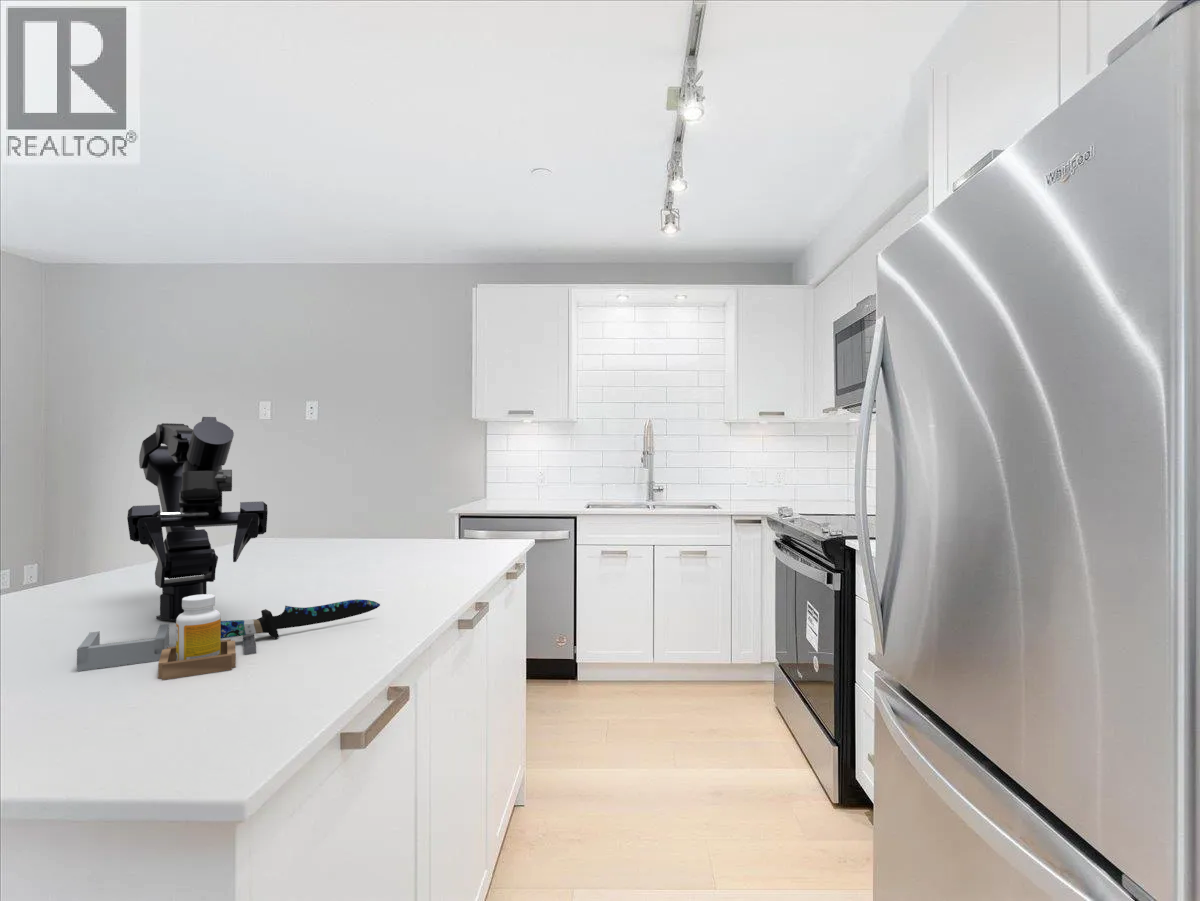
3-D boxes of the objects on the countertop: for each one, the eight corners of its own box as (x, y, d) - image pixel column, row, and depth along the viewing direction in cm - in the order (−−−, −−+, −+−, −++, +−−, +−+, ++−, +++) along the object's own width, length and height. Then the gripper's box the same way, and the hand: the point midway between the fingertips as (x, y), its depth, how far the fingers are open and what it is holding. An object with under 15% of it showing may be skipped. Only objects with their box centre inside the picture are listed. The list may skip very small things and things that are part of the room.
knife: (185, 653, 97) (186, 623, 97) (182, 648, 99) (183, 618, 99) (385, 622, 117) (386, 597, 117) (378, 619, 119) (379, 594, 119)
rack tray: (89, 652, 98) (89, 632, 98) (169, 642, 103) (169, 623, 103) (76, 671, 89) (76, 649, 89) (164, 659, 94) (164, 639, 94)
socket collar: (163, 661, 93) (163, 647, 93) (234, 652, 98) (234, 638, 98) (157, 680, 86) (157, 665, 86) (235, 669, 90) (235, 654, 90)
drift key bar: (242, 641, 104) (242, 635, 104) (253, 639, 104) (253, 633, 104) (243, 654, 97) (244, 647, 97) (256, 653, 98) (256, 646, 98)
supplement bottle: (229, 661, 94) (229, 594, 94) (195, 673, 88) (195, 602, 88) (201, 658, 95) (201, 591, 95) (166, 669, 90) (166, 599, 90)
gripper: (128, 452, 99) (118, 533, 89) (266, 452, 108) (271, 525, 98) (134, 501, 105) (126, 581, 96) (264, 497, 115) (268, 569, 105)
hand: (199, 563), depth 99 cm, fingers open, 9 cm apart
